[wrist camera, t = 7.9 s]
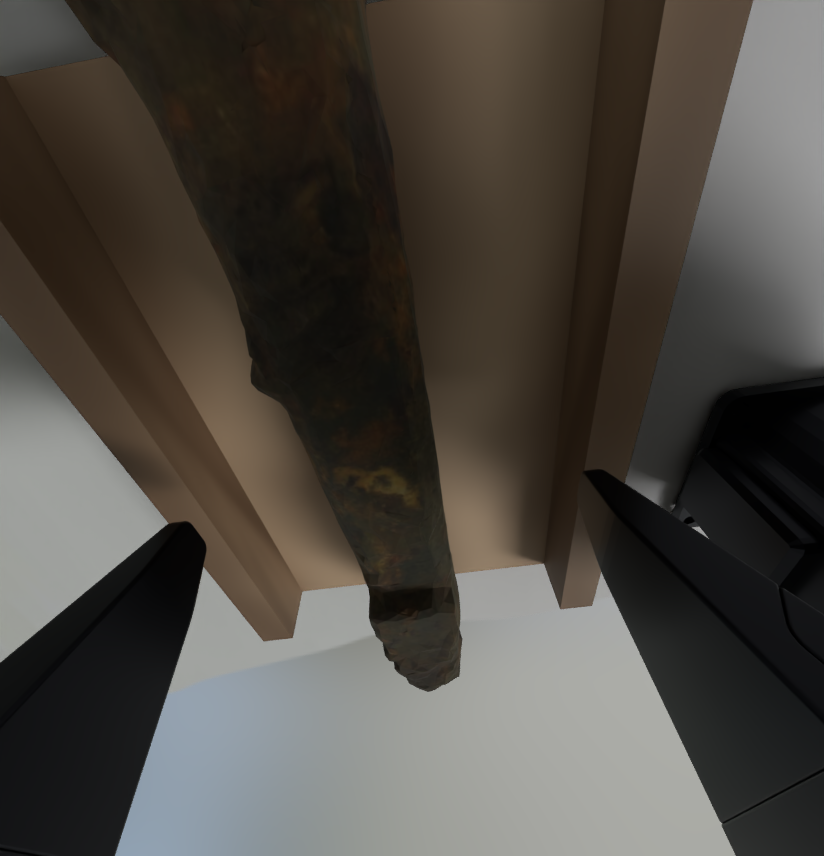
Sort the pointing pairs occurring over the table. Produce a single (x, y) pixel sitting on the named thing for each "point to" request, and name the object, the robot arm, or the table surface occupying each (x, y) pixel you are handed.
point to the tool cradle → (429, 266)
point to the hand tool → (311, 268)
